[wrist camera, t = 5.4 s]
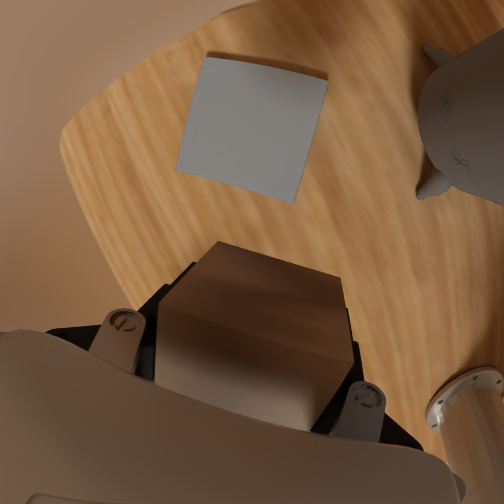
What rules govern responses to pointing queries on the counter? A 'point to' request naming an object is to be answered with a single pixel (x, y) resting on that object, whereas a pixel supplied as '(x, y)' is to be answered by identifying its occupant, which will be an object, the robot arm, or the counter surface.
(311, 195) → the counter surface
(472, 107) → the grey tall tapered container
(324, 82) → the plate
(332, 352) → the walnut cube
